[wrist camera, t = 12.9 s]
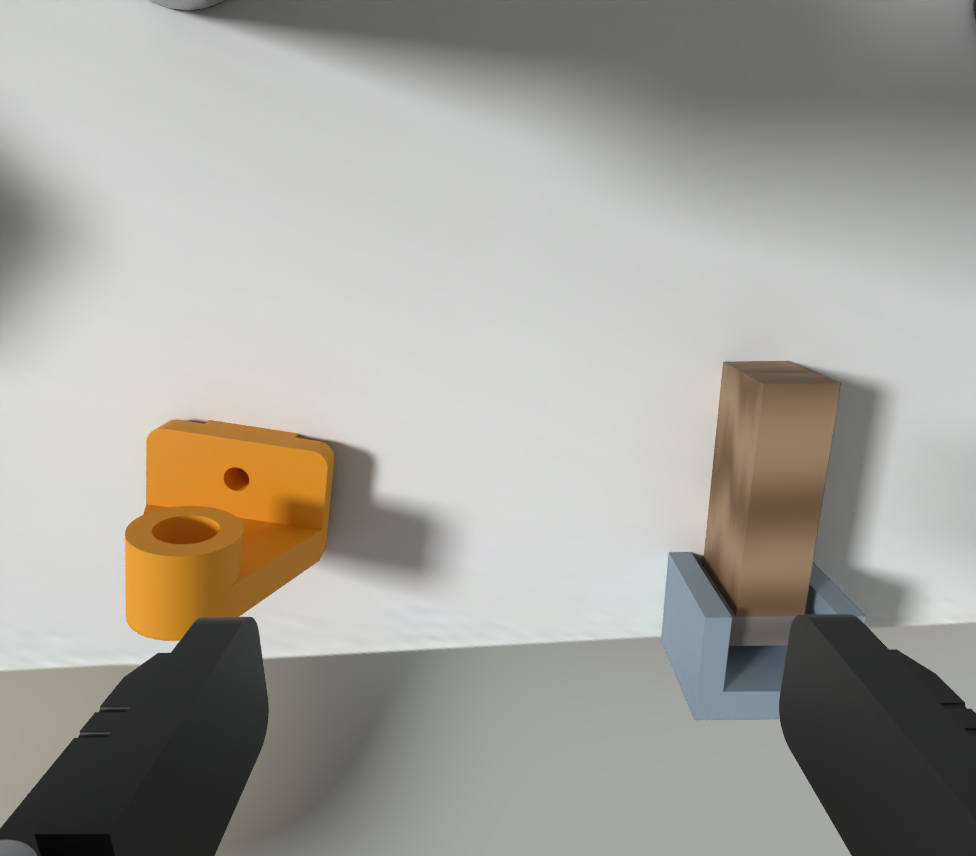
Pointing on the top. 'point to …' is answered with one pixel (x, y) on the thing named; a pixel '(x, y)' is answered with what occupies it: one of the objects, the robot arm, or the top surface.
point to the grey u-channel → (705, 645)
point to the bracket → (222, 522)
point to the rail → (767, 494)
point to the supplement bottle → (974, 9)
